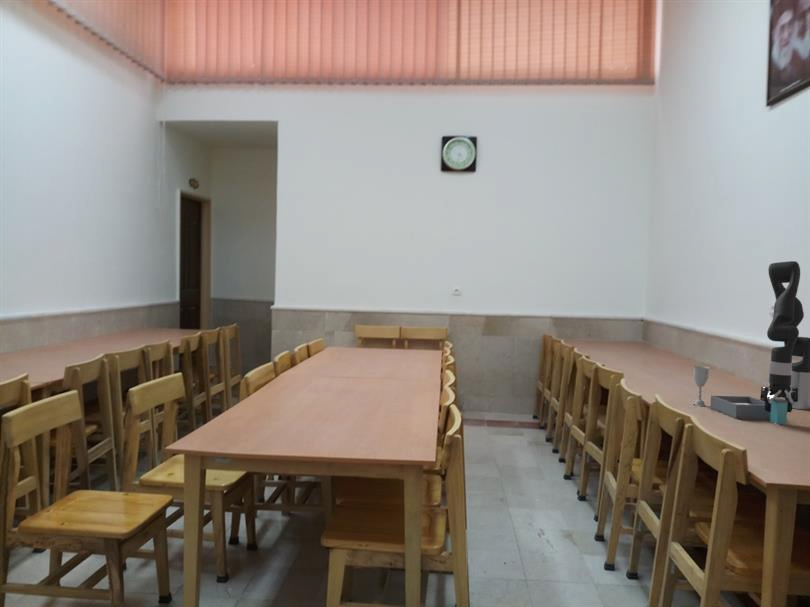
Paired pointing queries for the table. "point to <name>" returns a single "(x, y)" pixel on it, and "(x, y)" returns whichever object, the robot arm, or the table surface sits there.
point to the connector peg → (778, 411)
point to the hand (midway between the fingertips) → (778, 411)
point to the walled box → (740, 407)
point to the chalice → (700, 381)
